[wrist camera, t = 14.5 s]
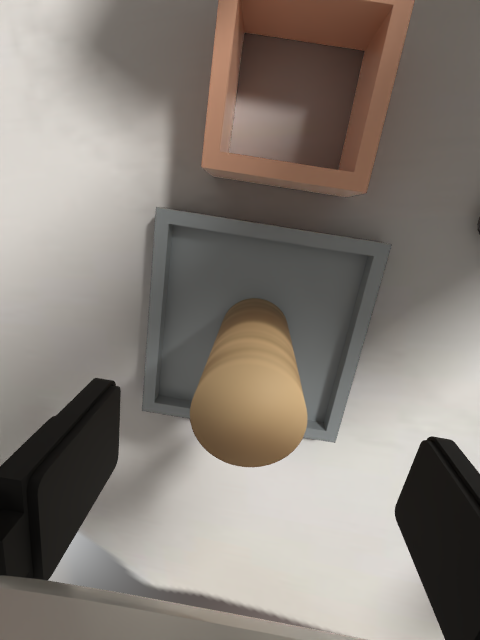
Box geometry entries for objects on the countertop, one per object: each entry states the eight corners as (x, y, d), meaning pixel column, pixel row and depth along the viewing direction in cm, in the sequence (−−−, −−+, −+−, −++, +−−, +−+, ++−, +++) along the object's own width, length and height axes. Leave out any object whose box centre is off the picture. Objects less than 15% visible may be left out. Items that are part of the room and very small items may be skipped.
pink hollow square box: (231, 11, 17) (223, -46, 13) (383, 35, 17) (419, -17, 13) (212, 176, 20) (201, 167, 16) (345, 197, 20) (366, 192, 16)
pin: (226, 293, 21) (196, 355, 12) (294, 304, 21) (319, 376, 12) (217, 355, 23) (184, 456, 13) (281, 365, 23) (294, 475, 13)
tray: (163, 207, 20) (156, 207, 19) (382, 242, 20) (391, 244, 19) (149, 399, 25) (142, 410, 23) (330, 429, 24) (335, 442, 23)
